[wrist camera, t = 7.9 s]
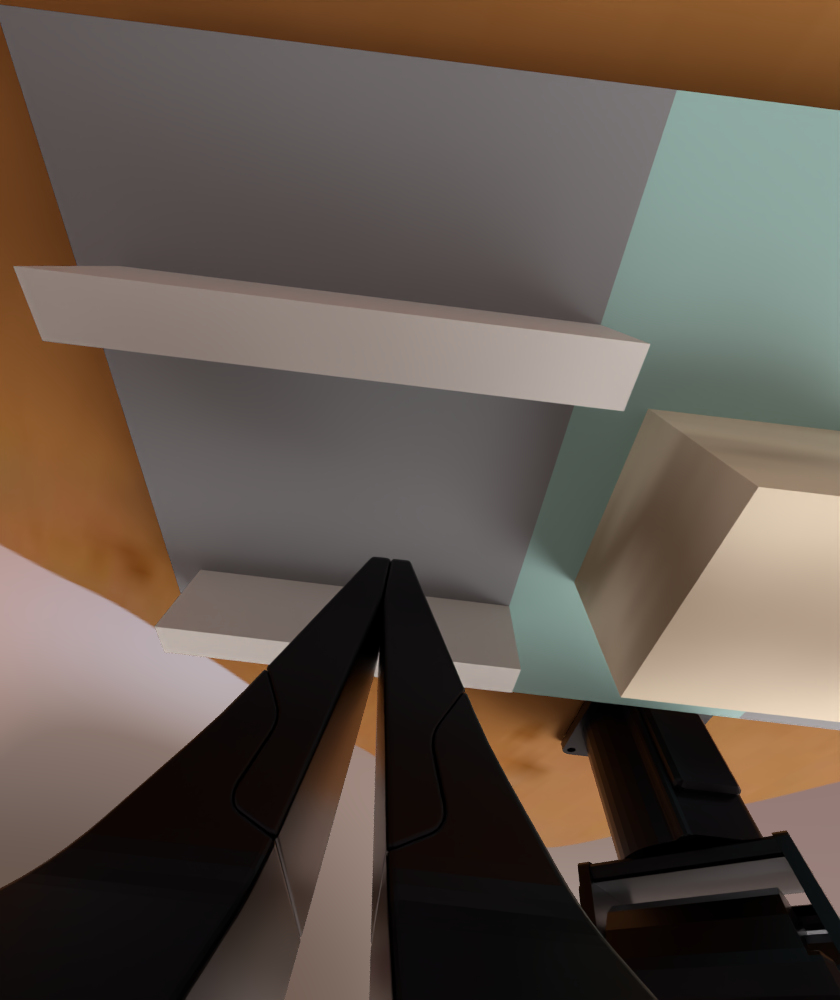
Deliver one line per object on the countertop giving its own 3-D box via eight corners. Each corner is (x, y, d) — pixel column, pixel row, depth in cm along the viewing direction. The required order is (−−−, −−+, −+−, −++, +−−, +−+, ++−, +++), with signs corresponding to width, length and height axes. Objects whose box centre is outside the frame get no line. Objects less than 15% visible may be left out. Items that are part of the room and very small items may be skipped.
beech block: (751, 602, 13) (862, 724, 9) (573, 582, 13) (620, 697, 9) (883, 435, 10) (1122, 528, 6) (648, 408, 10) (758, 487, 6)
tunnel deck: (869, 676, 19) (1009, 812, 14) (234, 602, 19) (163, 714, 14) (1400, 236, 9) (2354, 208, 5) (119, 76, 9) (-220, -121, 4)
